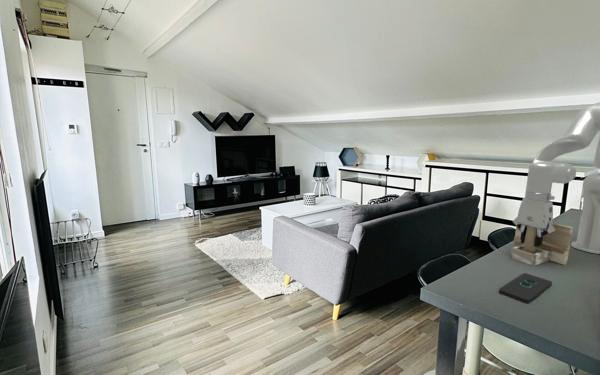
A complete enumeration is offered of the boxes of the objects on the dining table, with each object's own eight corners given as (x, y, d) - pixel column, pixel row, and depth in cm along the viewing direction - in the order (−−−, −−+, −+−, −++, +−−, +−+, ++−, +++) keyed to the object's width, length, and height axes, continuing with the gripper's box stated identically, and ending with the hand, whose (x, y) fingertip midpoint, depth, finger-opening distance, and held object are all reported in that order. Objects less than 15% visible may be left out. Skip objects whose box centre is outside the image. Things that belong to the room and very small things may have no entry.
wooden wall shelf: (516, 248, 138) (520, 215, 135) (567, 263, 122) (573, 227, 120) (497, 253, 131) (501, 219, 129) (548, 270, 116) (554, 232, 114)
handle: (536, 258, 122) (542, 219, 119) (516, 253, 127) (522, 215, 124) (541, 255, 125) (547, 217, 122) (521, 250, 130) (527, 213, 127)
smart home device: (553, 281, 105) (529, 300, 93) (552, 286, 106) (528, 305, 94) (524, 272, 112) (497, 288, 100) (523, 277, 112) (497, 293, 100)
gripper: (569, 200, 116) (561, 249, 120) (518, 191, 131) (513, 236, 134) (558, 202, 113) (550, 253, 116) (508, 193, 127) (502, 239, 130)
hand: (530, 243), depth 125 cm, fingers closed on handle, 4 cm apart
